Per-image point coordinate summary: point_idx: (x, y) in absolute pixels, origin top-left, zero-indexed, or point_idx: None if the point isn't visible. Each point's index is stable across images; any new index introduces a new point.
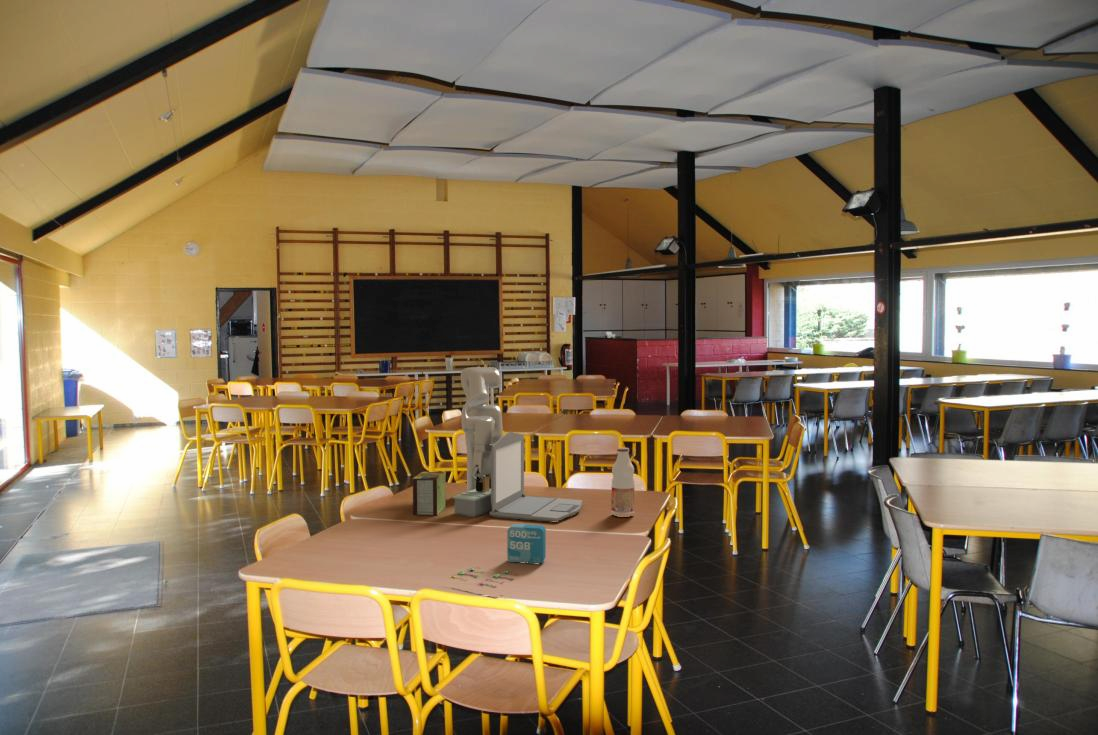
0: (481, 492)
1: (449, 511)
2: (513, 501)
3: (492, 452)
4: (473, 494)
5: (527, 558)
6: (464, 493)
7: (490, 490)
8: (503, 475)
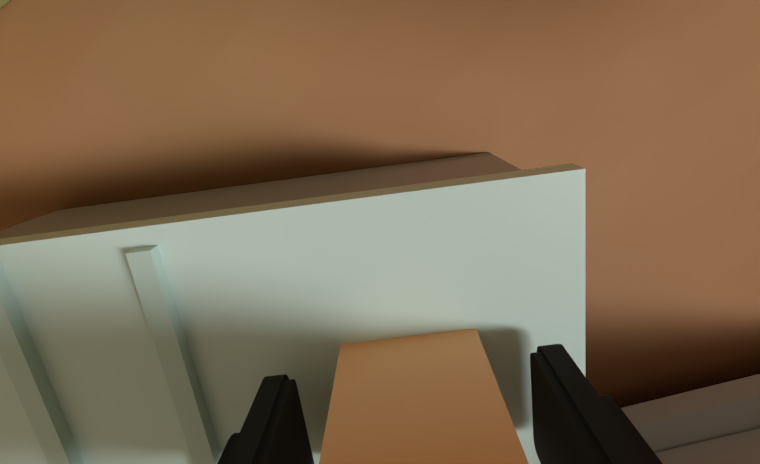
0: (323, 422)
1: (106, 58)
2: (676, 445)
3: None
4: (140, 423)
5: None
6: (82, 276)
7: (520, 433)
8: None
